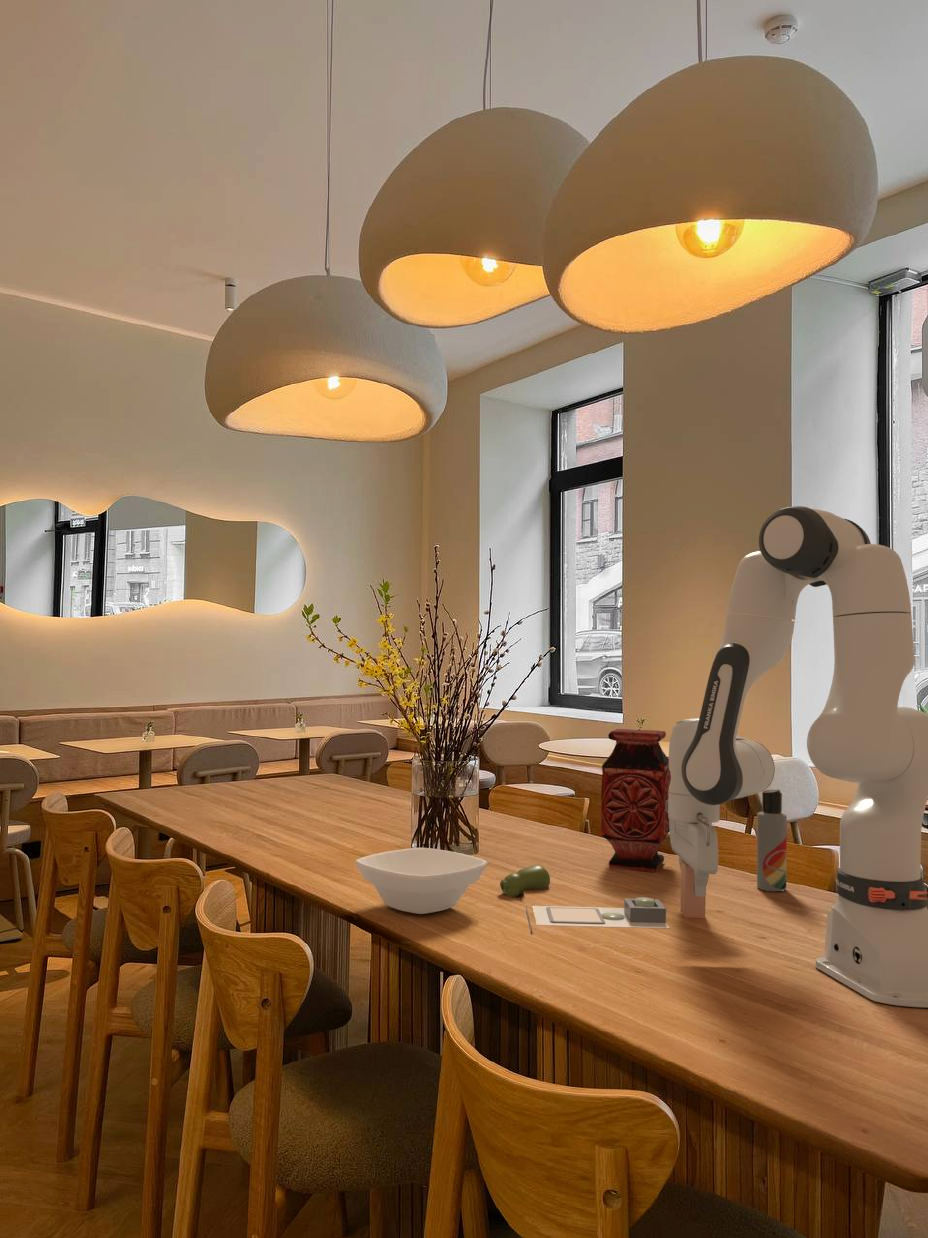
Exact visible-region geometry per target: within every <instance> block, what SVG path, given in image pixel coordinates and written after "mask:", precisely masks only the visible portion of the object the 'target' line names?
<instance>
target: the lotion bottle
mask: <svg viewBox="0 0 928 1238" xmlns="http://www.w3.org/2000/svg"><path fill="white" fill-rule="evenodd" d="M761 794H762V795H761V796H762V798H761V800H762V801H761V802H762V803H761V804H762V808H761V809H762V811H759V812H757V814H756V815H757V817H756V818H757V819H756V825H757V826H756V835H757V836H756V887H757V889H758V888H759V889H758V890H760V889H762V890H761V891H763V890H767V891H766V892H769V891H782V890H785V891H786V890H787V876H788V875H787V859H788V857H787V856H788V855H787V853H788V852H787V849H788V847H787V845H788V842H787V841H788V839H787V835H788V833H787V832H788V831H787V829H788V828H787V826H788V822H787V821H788V819H787V818H788V817H787V814H785V813H783V810H782V809H783V808H782V807H783V796H782V795H783V793H782V792H781V790H780V789H765V790H764V791H762V792H761Z"/></svg>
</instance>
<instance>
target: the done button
mask: <svg viewBox="0 0 928 1238" xmlns="http://www.w3.org/2000/svg"><path fill="white" fill-rule="evenodd" d="M634 899H635V906H642V907H654V899H653V898H650V897H636V898H634Z"/></svg>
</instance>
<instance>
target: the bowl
mask: <svg viewBox="0 0 928 1238" xmlns="http://www.w3.org/2000/svg"><path fill="white" fill-rule="evenodd" d="M354 863H355V866H356V867H357V869H358V870H359V872H360V873H361V875H362V877H363V879H364V880H365V881H366V882H368V883H369V884H372V885H373V886H374V888H375V889H376V891H377V893H378V895H379V896H380V898H381V899H382V901H383V903H384V904H385V905H386V906H387V907H390V908H393V909H395V910H398V911H401V912H405V913H412V914H419V915H423V914H431V913H436V912H441V911H445V910H448V909H450V908H453V907H455V906H456V905H457V904H458V902H459V901H460V900H461V898H462V896H463V895H464V893H466V891H467V889H468V888H469V886H470V885H473V884H474V883H476V882H478V881H479V879H480V877H481V875H482V874H483V873H484V871H485V869H486V868H487V867H488V865H489V864H488V861H487V860H485V859H482V858H480V857H477V856H472V855H469V854H465V853H460V852H455V851H452V850H451V851H450V850H443V849H439V848H431V847H430V848H428V847H413V848H412V847H410V848H404V849H402V848H401V849H395V850H388V851H383V852H379V853H374V854H373V853H372V854H369V855H366V856H363V857H360V858H358V859H356V860H355V861H354Z"/></svg>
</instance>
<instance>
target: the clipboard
mask: <svg viewBox="0 0 928 1238" xmlns="http://www.w3.org/2000/svg"><path fill="white" fill-rule="evenodd" d="M531 907H532V911H533V915H534V919H535V920H534V921H535V924H536V926H552V927H556V926H557V927H559V926H560V927H589V928H590V927H593V928H595V927H596V928H600V927H601V928H633V929H635V928H640V929H670V926H668V924H667V922H666V923H644V922H630V921H629V919H628V918H627V916H626V915H625V913H624V907H602V906H601V907H599V906H596V907H595V906H563V905H562V906H559V905H558V906H557V905H531ZM525 912H526V916H527V922H528V926H529V930H530V934H531V935H533V934H534V933H533V929H532V925H531V921H530V915H529V910H528V907H527V905H525Z"/></svg>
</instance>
